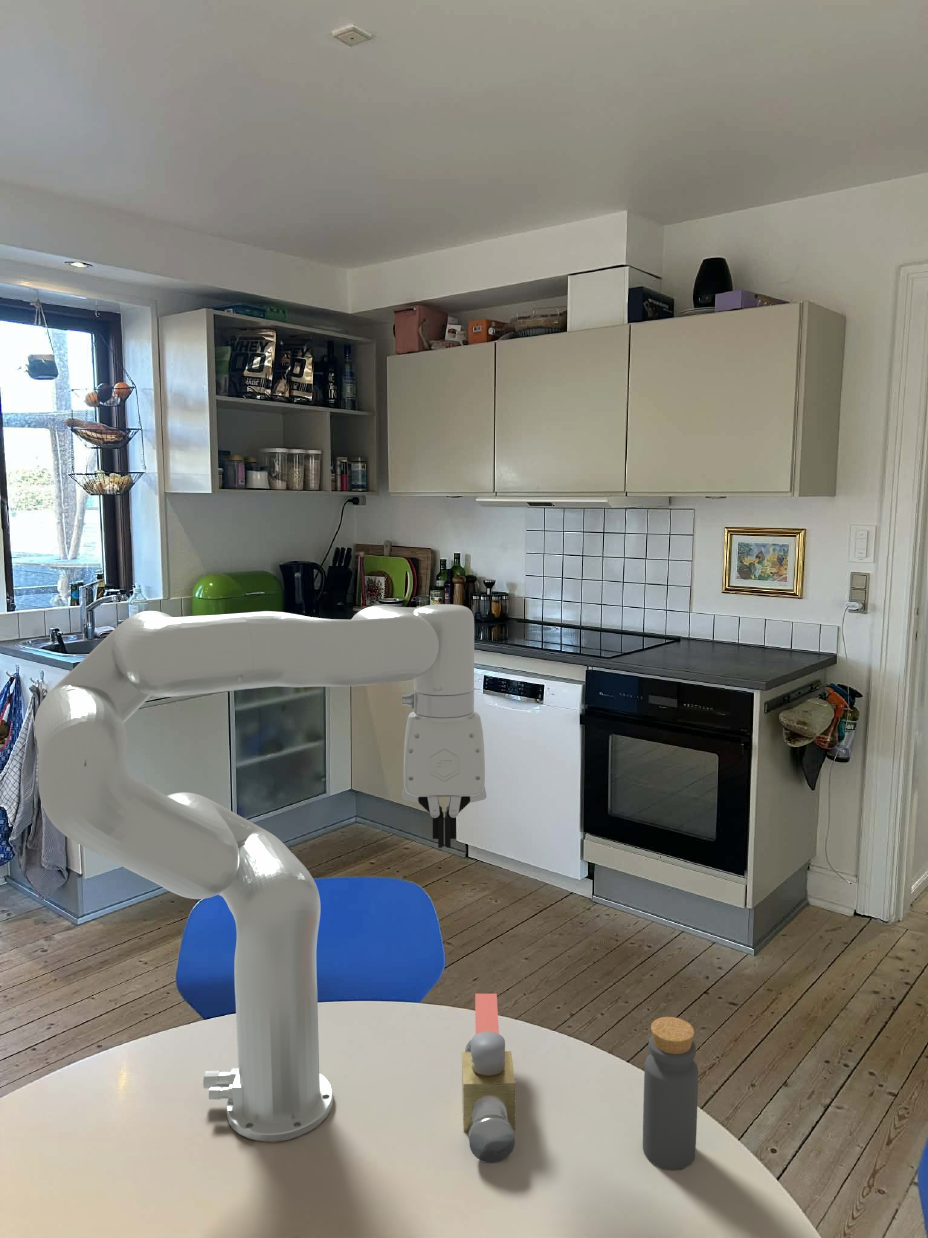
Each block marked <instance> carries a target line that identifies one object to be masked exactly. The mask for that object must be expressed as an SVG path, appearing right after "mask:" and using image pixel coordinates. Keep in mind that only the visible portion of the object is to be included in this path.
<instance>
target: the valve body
mask: <svg viewBox="0 0 928 1238" xmlns="http://www.w3.org/2000/svg"><path fill="white" fill-rule="evenodd" d="M471 1040H472V1038H471V1039H470V1040H469V1041H468V1042H467V1044H466V1047H465V1051H464V1052H463V1051H462V1052H461V1093H462V1094H461V1098H462V1099H461V1100H462V1104H461V1105H462V1124H463V1125H462V1126H463V1132H468V1139H469V1141H468V1143H469V1149H470V1151H471V1154H472V1155H473V1156H474V1157H475V1158H476V1159H477V1160H479V1161H481V1162H483V1163H488V1164H494V1163H500V1162H503V1161H504V1160H505V1159H506V1160H507V1158H508V1157H510V1155H511V1154H512V1152H513V1151H514V1147H515V1144H516V1143H515V1141H516V1140H515V1133H514V1131H516V1078H515V1071H514V1068H515V1067H514V1061H513V1054H512V1051H508V1050H505V1068H504V1069H503V1071H502V1072H500V1073H499V1074H496V1075H491V1076H486V1075H481V1074H478V1073H476V1072H475V1071H474V1070H473V1069H472V1067H471Z"/></svg>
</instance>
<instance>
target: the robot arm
mask: <svg viewBox="0 0 928 1238" xmlns="http://www.w3.org/2000/svg"><path fill="white" fill-rule="evenodd" d="M410 680H413V691H411V693H408V694H403V695H402V706H408V707H411V709H413V711H411V712H410V713H409V714H408V715H407V721H406V726H405V734H404V746H403V768H402V769H403V770H402V771H403V774H402V775H403V788H402V793H401V799H402V800H403V801H405V802H411V803H415V804H416V803H417V804H419V805H420V806H421V807H423V808H424V809H425V811H426V812H428V813H429V814H430V816H431V817H432V840H437V849H442V848H445V847H446V848H447V849H452V848H451V841H452V840H454V839H455V840H456V839H457V817H458V816H459V813H461V812H462V811H463V809H465V808H466V807H467V806H468V805H469V804H470V803H476V802H479V801H483V800H486V799H487V791H486V787H485V785H486V783H485V781H486V762H485V760H486V759H485V741H484V740H485V739H484V732H483V725H482V720H481V716H480V713H479V712H477V711H475V617H474V613H473V612H472V610H471V609H470V608H469V607H468V606H464V605H460V604H452V603H451V604H447V603H445V604H444V603H442V604H438V603H436V604H428V605H424V606H421V607H411V606H409V607H406V606H395V605H394V606H393V605H383V604H382V605H378V604H377V605H372V606H368V607H365V608H363V609H362V610H360V611H357V613H355V614H354V615H353V617H352V618H351V619H336V618H335V619H334V618H333V619H331V618H321V617H320V618H319V617H313V616H312V617H311V616H305V615H302V614H297V613H293V612H291V613H290V612H285V611H270V610H263V611H251V612H250V611H249V612H239V613H237V612H236V613H226V614H225V613H224V614H210V615H209V614H208V615H192V616H191V615H190V616H177V617H176V616H175V617H173V616H171V615H169V614H167V613H166V612H161V611H158V610H157V611H156V610H146V611H141V612H138V613H135V614H133V615H131V616H129V617H127V618H126V619H124V620H123V621H122V622H120V624H119V625H118V626H116V627H115V628H114V629H113V630H112V631H111V632H110V633H109V634H108V635H107V636H106V637H105V638H104V639H103V640H102V641H101V642H100V643H99V644H97V646H95V648H93V650H92V651H90V653H88V654H87V655H86V656H85V657H84V658H83V659H82V660H81V661H80V662H79V663H77V665H76V666H75V667H73V669H72V670H71V671H70V672H69V673H67V674H66V675H65V676H64V677H63V678H62V679H61V680H60V681H59V682H58V683H57V684H56V685H55V686H54V687H53V688H51V690H50V691H49V692H48V693H47V694H46V695H45V697H44V698H43V700H42V701H41V703H40V704H39V706H38V707H37V710H36V713H35V716H34V725H33V726H34V735H35V739H36V744H37V750H38V771H37V772H38V774H37V775H38V776H37V777H38V779H37V780H38V794H39V799H40V803H41V806H42V807H43V810H44V812H45V815H46V817H48V819H49V821H50V822H51V824H52V825H53V826H54V827H55V828H56V829H57V830H58V831H59V832H60V833H61V834H62V835H64V836H65V837H66V838H68V839H70V840H71V841H73V842H75V843H76V844H78V845H80V846H82V847H83V848H86V849H88V850H89V851H92V852H94V853H96V854H98V855H99V856H102V857H104V858H106V859H108V860H109V861H110V862H113V863H114V864H117V865H118V866H120V867H122V868H124V869H125V870H127V871H130V872H132V873H134V874H136V875H138V876H140V877H143V878H144V879H146V880H148V881H151V882H153V883H154V884H156V885H158V886H159V887H162V888H164V889H165V890H167V891H169V892H170V893H173V894H175V895H177V896H179V897H183V898H186V899H193V900H204V899H209V898H213V897H215V896H220V897H222V898H223V899H224V901H225V902H226V905H227V907H228V909H229V911H230V912H231V914H232V916H233V918H234V921H235V928H236V929H235V931H236V941H235V942H236V943H235V951H234V965H233V966H234V967H233V969H234V973H233V975H234V977H233V979H234V997H235V1015H236V1018H235V1019H236V1020H235V1022H236V1041H237V1043H236V1044H237V1045H236V1046H237V1064H238V1065H237V1066H238V1067H232V1068H230V1069H231V1070H227V1071H226V1070H225V1071H223V1070H207V1071H206V1070H205V1071H204V1076H203V1080H202V1081H203V1083H202V1085H203V1089H204V1090H205V1089H208V1090H209V1091H208V1100H223V1099H227V1103H226V1118H227V1121H228V1123H229V1125H230V1126H231V1127H230V1128H232V1129H233V1130H234V1131H235V1132H237V1134H239V1135H240V1136H243V1137H245V1138H247V1139H251V1140H253V1141H259V1142H267V1143H268V1142H281V1141H287V1140H292V1139H294V1138H297V1137H298V1138H299V1137H300V1136H302V1135H304V1134H307V1133H308V1132H310V1131H312V1130H314V1129H315V1128H316V1127H318V1126H319V1125H321V1123H323V1122H324V1120H325V1119H326V1118H327V1117H328V1116H329V1114H330V1112H331V1110H332V1107H333V1103H334V1091H333V1086H332V1084H331V1083H330V1080H329V1079H328V1078H327V1077H326V1076H325V1075H323V1074H322V1073H320V1048H319V1047H320V1046H319V1045H320V1044H319V1010H318V1008H319V1007H318V981H317V980H318V978H317V972H318V971H317V946H318V945H317V944H318V933H319V927H320V921H321V920H320V919H321V899H320V898H321V897H320V892H319V889H318V887H317V883H316V882H315V879H314V878H313V876H312V875H311V872H310V871H309V870H308V869H307V868H306V866H305V865H304V864H303V862H301V860H300V859H298V858H297V856H296V855H295V854H294V853H293V852H292V851H291V850H290V849H289V848H288V847H287V846H286V844H284V842H283V841H281V840H280V839H279V838H278V837H277V836H275V835H274V834H272V833H271V832H270V831H268V830H266V829H265V828H262V827H260V826H259V825H257V824H255V823H253V822H252V821H250V820H248V819H246V818H244V817H242V816H240V815H239V814H237V813H235V812H233V811H232V810H230V809H229V808H226V807H224V806H222V805H221V804H219V803H217V802H215V801H214V800H211V799H210V798H207V797H206V796H203V795H201V794H197V793H193V792H187V791H185V792H175V793H171V794H168V795H166V794H164V793H162V792H161V791H160V790H158V789H156V788H154V787H153V786H152V785H149V784H147V783H145V782H143V781H140V780H138V779H135V778H133V776H131V774H130V773H129V772H128V769H127V766H126V757H127V756H126V755H127V746H128V745H127V744H128V736H127V735H128V734H127V729H126V726H125V723H126V722H127V720H129V719H130V718H131V717H132V715H134V714H135V712H137V711H138V710H139V708H141V707H142V706H143V705H144V704H145V703H146V702H147V700H149V699H150V697H157V698H171V697H173V698H174V697H181V696H182V697H186V696H192V695H193V696H194V695H203V694H212V693H222V692H229V691H230V692H231V691H239V690H250V689H260V688H262V689H263V688H270V687H271V688H272V687H285V688H286V687H287V688H288V687H289V688H309V687H314V688H315V687H320V688H321V687H326V688H328V687H338V688H339V687H340V688H341V687H361V686H375V685H382V684H383V685H384V684H392V683H399V682H405V681H410ZM440 797H441V798H442V797H445V798H446V797H448V798H449V802H448V806H447V807H446V808H445V809H446V810H445V811H443V807H442V805H440V800H439V798H440Z"/></svg>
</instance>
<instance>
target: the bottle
mask: <svg viewBox="0 0 928 1238" xmlns="http://www.w3.org/2000/svg"><path fill="white" fill-rule="evenodd" d="M650 1031H651V1036H650V1037H649V1040H648V1051H649V1054H648V1055H647V1057H646V1059H645V1060H644V1075H643V1076H644V1077H643V1105H642V1106H643V1107H642V1108H643V1110H642V1111H643V1112H642V1114H643V1115H642V1151H643V1154H644V1155H645V1157H646V1159H648V1161H649V1162H651V1163H652V1164H653V1165H655V1166H657V1167H659V1168H661V1169H665V1170H671V1171H678V1170H683V1169H686V1168H689V1167H690V1166H691V1165H692V1164H693V1163H694V1161H695V1158H696V1151H697V1150H696V1149H697V1127H698V1125H697V1123H698V1122H697V1121H698V1101H699V1099H698V1097H699V1068H698V1065H697V1063H696V1061H695V1060H694V1059H695V1058H696V1053H697V1049H696V1048H697V1046H696V1043H695V1042H694V1037H695V1029H694V1027H693V1026H692V1024H690V1023H689V1022H688V1021H687V1020H684V1019H682V1018H679V1017H673V1016H663V1017H659V1018H656V1019H654V1020H653V1021H652V1022H651V1024H650Z"/></svg>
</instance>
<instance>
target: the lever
mask: <svg viewBox="0 0 928 1238" xmlns="http://www.w3.org/2000/svg"><path fill="white" fill-rule="evenodd" d="M474 995H475V997H474V1000H475V1003H474V1004H475V1005H474V1006H475V1007H474V1008H475V1010H474V1011H475V1012H474V1013H475V1017H474V1018H475V1034H474V1035H473V1036H472V1037H471V1039H472V1040H471V1039H470V1040H471V1067H472V1069H473V1070H474V1071H475V1072H476V1073H478V1074H481V1075H486V1076H491V1075H496V1074H499V1073H500V1072H502V1071H503V1069H504V1068H505V1051H506V1040H505V1038H504V1036H502V1035H501V1034H500V1028H499V1026H500V1025H499V1011H498V994H497V993H475V994H474Z"/></svg>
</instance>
